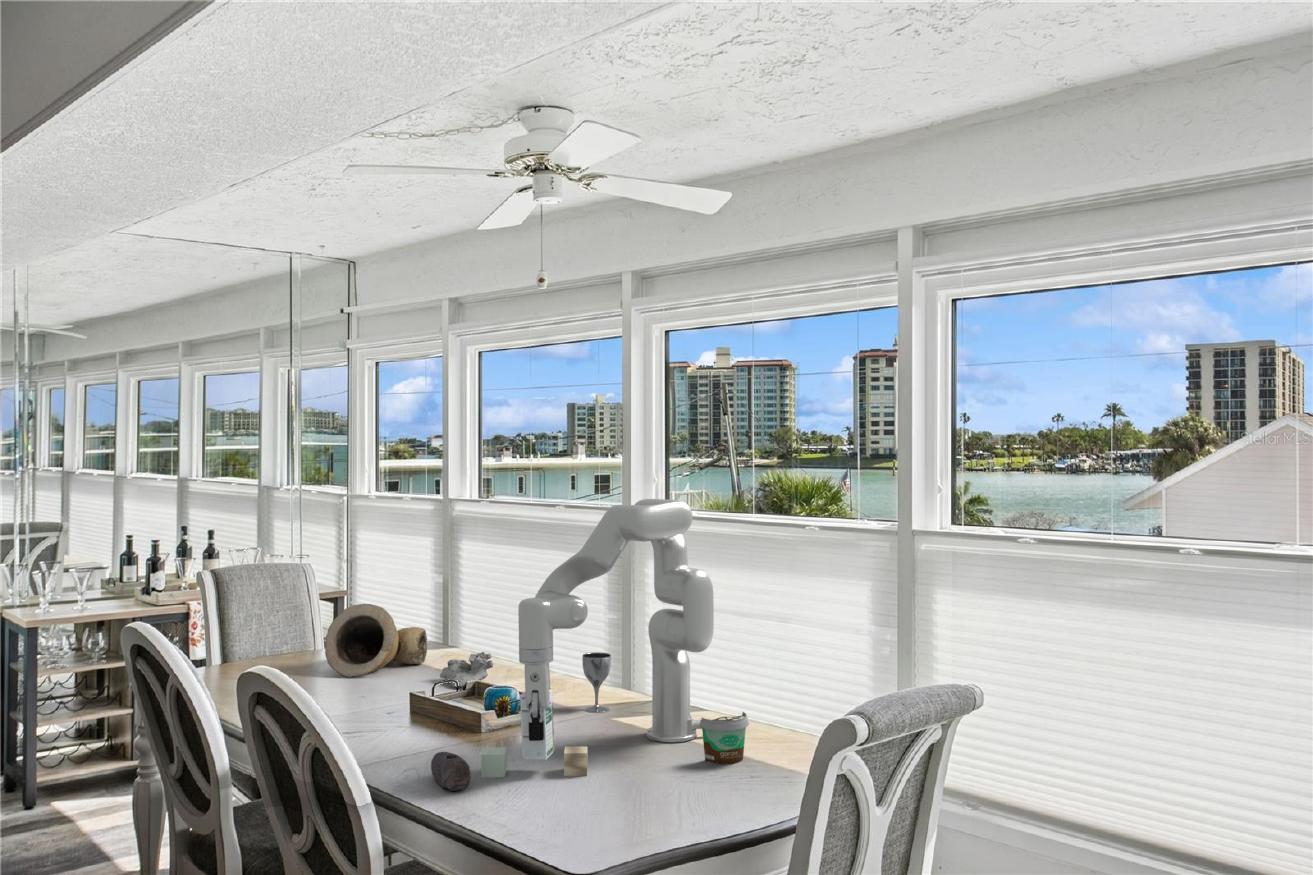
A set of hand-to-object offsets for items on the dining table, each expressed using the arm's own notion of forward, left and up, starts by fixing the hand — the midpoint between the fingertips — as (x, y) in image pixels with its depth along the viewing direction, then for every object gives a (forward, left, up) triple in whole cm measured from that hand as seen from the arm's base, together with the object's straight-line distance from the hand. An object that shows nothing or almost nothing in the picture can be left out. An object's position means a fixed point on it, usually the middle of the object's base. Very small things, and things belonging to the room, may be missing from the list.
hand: (537, 734), depth 214 cm
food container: (-43, -6, -8) cm, 45 cm away
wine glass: (-12, -54, -8) cm, 56 cm away
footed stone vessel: (+61, -111, -9) cm, 127 cm away
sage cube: (+10, 0, -8) cm, 13 cm away
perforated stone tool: (+18, +7, -9) cm, 22 cm away
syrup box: (0, 0, -5) cm, 5 cm away
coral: (+29, -87, -9) cm, 92 cm away
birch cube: (-8, 0, -8) cm, 12 cm away
